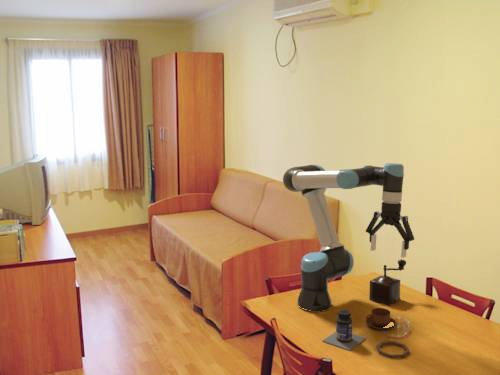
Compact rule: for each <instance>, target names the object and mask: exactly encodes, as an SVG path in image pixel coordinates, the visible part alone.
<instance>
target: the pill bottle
mask: <svg viewBox="0 0 500 375" xmlns="http://www.w3.org/2000/svg"><path fill="white" fill-rule="evenodd" d="M351 314H352V313H351V311H350V310H347V309H340V310H338V311H337V317H336V319H335V321H336V322H335V327H336V328H335V332H336V339H337V340H338V341H340V342H350V341H351V340H352V334H353V319H352V317H351Z"/></svg>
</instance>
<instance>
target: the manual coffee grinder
mask: <svg viewBox="0 0 500 375" xmlns="http://www.w3.org/2000/svg"><path fill="white" fill-rule="evenodd" d="M397 264H398V267H397V268H396V267H395V268H392V267H389V268H387V267H388V266H387V264H384V265H383V275H379V276H377V277H375V278H373V279H371V280H369V301H371V302H374V303H378V304H382V305H385V306H391V305H393V304H395V303H397V302H398V301H399V300H400V299H401V279H398V278H393V277H391V276H389V275H387V271H404V270H405V266H406V264H407V261H406V260H404V259H402V258H401V259H398V261H397Z"/></svg>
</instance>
